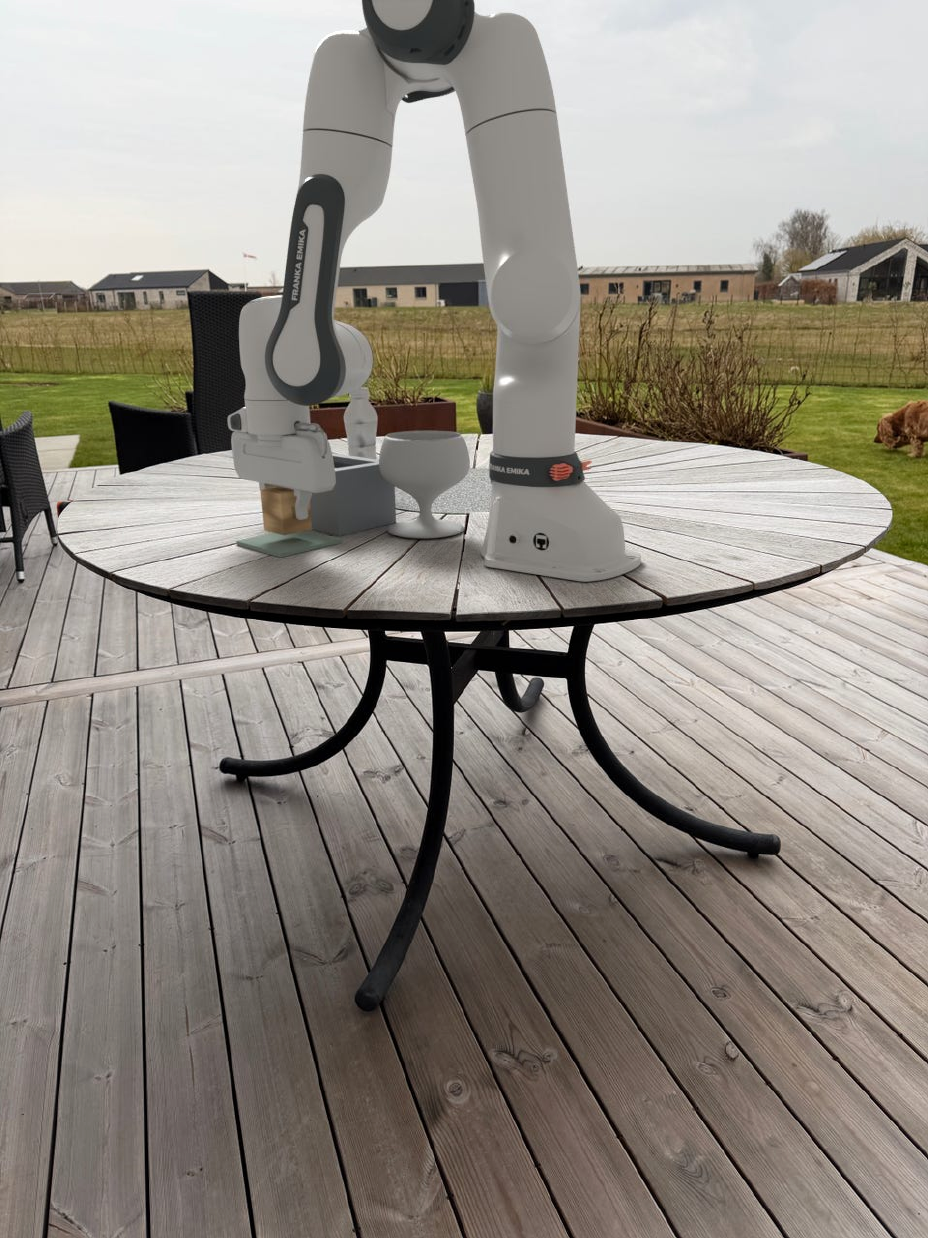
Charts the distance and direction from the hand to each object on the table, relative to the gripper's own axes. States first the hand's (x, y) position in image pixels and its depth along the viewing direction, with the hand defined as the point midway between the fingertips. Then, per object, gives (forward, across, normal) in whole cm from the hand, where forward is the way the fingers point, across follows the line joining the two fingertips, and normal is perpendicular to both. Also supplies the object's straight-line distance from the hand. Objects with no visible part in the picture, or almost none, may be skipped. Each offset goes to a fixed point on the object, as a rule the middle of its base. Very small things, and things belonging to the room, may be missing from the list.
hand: (287, 515), depth 116 cm
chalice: (+5, -10, -19) cm, 22 cm away
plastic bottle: (+4, +21, -33) cm, 39 cm away
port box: (+4, +7, -14) cm, 16 cm away
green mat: (+4, 0, 0) cm, 4 cm away
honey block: (+2, 0, 0) cm, 2 cm away
